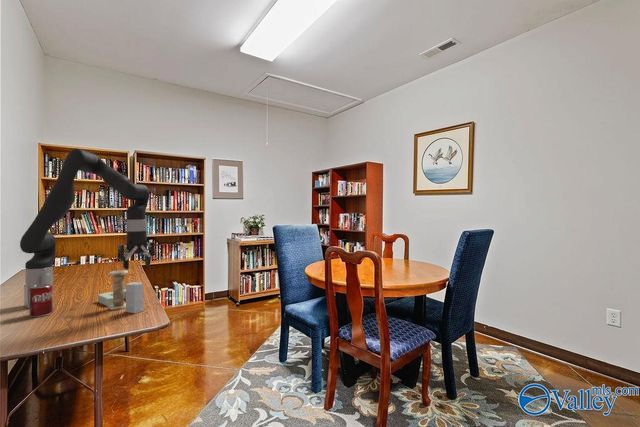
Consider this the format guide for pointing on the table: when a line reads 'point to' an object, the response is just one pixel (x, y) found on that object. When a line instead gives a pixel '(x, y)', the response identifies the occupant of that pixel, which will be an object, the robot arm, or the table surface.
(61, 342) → the table surface
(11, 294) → the table surface
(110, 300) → the notched board
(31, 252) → the robot arm
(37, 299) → the soda can
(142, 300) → the skincare box
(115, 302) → the bobbin
